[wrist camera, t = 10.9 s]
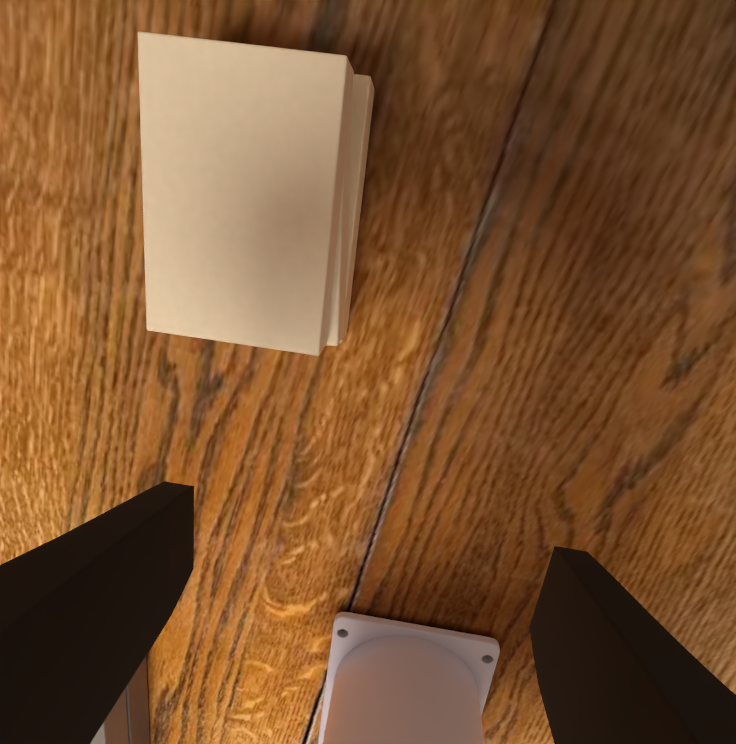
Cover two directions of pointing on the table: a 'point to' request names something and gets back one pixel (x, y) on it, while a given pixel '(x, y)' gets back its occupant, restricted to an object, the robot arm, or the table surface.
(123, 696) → the grey books
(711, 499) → the table surface
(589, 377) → the table surface
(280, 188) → the cream rectangular slab
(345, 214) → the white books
